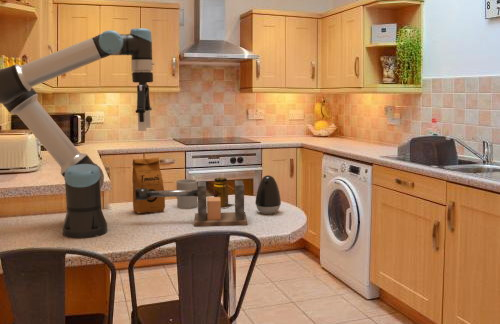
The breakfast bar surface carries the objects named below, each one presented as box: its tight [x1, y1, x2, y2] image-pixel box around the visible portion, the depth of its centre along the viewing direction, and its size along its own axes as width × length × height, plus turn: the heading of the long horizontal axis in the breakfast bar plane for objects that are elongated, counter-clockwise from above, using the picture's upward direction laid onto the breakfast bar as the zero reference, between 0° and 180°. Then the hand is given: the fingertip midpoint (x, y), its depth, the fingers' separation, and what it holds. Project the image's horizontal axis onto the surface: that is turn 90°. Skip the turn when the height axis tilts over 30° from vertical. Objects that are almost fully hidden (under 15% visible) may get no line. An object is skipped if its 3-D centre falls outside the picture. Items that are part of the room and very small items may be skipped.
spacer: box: [206, 196, 222, 220], centre depth 205 cm, size 5×7×7 cm
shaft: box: [136, 188, 198, 200], centre depth 203 cm, size 24×4×4 cm, turn 94°
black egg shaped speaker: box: [254, 175, 282, 215], centre depth 217 cm, size 10×10×15 cm
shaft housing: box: [193, 180, 248, 228], centre depth 205 cm, size 20×14×14 cm
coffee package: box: [131, 157, 166, 214], centre depth 220 cm, size 10×12×22 cm
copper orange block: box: [213, 177, 235, 209], centre depth 230 cm, size 7×8×12 cm
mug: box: [176, 178, 198, 210], centre depth 231 cm, size 12×8×11 cm
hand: (144, 129), depth 203 cm, fingers open, 13 cm apart
